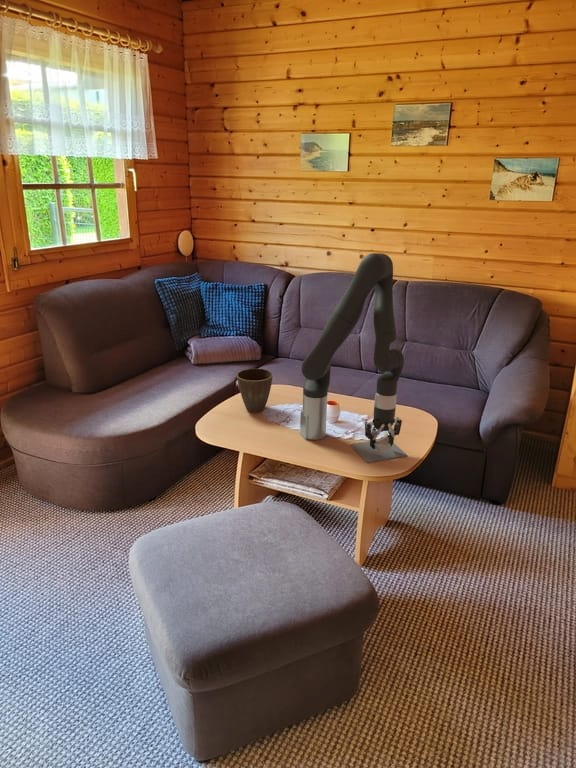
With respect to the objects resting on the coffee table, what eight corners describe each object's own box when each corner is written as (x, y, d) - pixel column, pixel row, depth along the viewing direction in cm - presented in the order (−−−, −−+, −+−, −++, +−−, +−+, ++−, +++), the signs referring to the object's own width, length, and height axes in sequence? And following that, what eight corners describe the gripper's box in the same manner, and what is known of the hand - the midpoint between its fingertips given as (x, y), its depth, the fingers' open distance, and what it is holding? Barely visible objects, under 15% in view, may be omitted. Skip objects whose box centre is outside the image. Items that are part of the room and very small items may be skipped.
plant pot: (252, 419, 227) (252, 383, 221) (230, 408, 237) (229, 373, 231) (279, 410, 236) (280, 375, 230) (257, 399, 246) (257, 365, 241)
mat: (367, 462, 195) (367, 461, 195) (350, 445, 207) (350, 443, 207) (407, 456, 200) (407, 455, 200) (388, 439, 212) (388, 438, 212)
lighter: (380, 449, 194) (369, 439, 201) (381, 452, 194) (370, 442, 201) (397, 439, 195) (386, 430, 202) (398, 443, 196) (387, 434, 203)
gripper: (397, 398, 201) (393, 439, 207) (361, 402, 196) (358, 444, 202) (408, 406, 194) (403, 448, 200) (371, 411, 190) (368, 454, 196)
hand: (381, 446), depth 201 cm, fingers closed on lighter, 6 cm apart
